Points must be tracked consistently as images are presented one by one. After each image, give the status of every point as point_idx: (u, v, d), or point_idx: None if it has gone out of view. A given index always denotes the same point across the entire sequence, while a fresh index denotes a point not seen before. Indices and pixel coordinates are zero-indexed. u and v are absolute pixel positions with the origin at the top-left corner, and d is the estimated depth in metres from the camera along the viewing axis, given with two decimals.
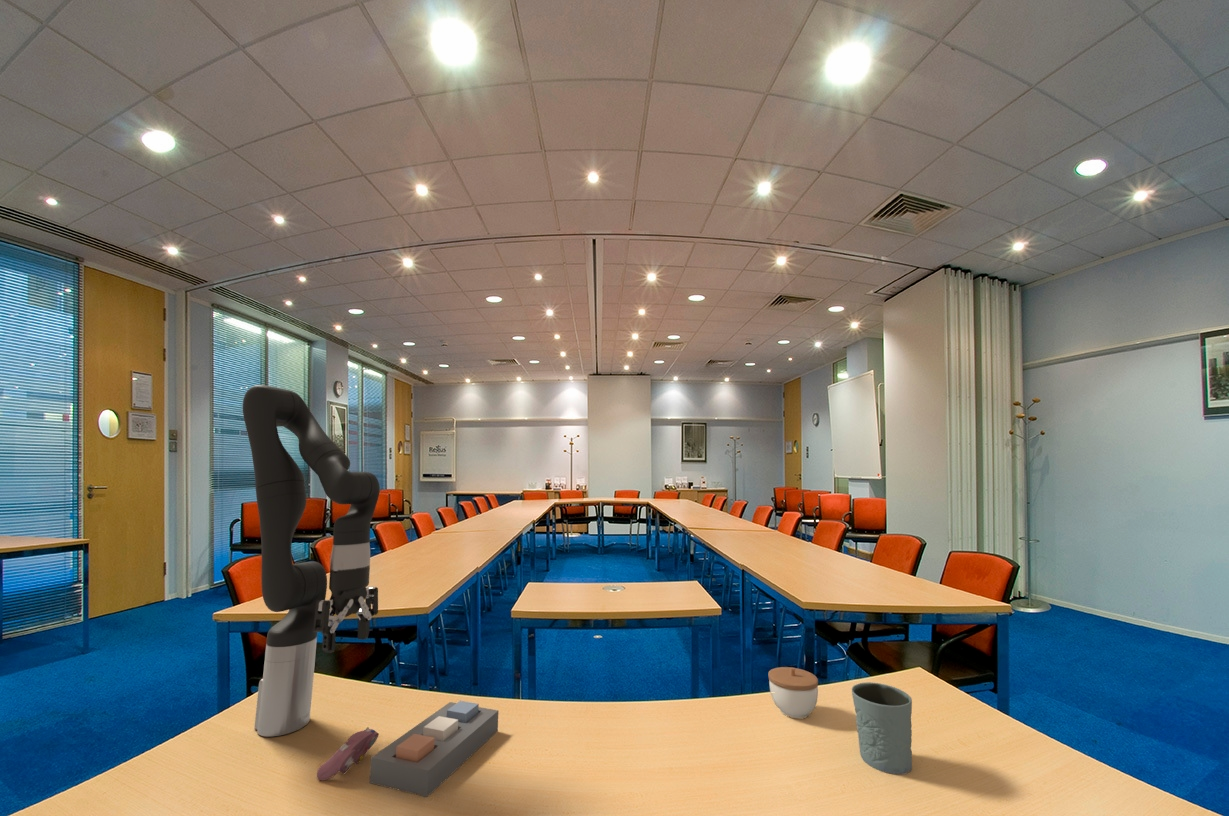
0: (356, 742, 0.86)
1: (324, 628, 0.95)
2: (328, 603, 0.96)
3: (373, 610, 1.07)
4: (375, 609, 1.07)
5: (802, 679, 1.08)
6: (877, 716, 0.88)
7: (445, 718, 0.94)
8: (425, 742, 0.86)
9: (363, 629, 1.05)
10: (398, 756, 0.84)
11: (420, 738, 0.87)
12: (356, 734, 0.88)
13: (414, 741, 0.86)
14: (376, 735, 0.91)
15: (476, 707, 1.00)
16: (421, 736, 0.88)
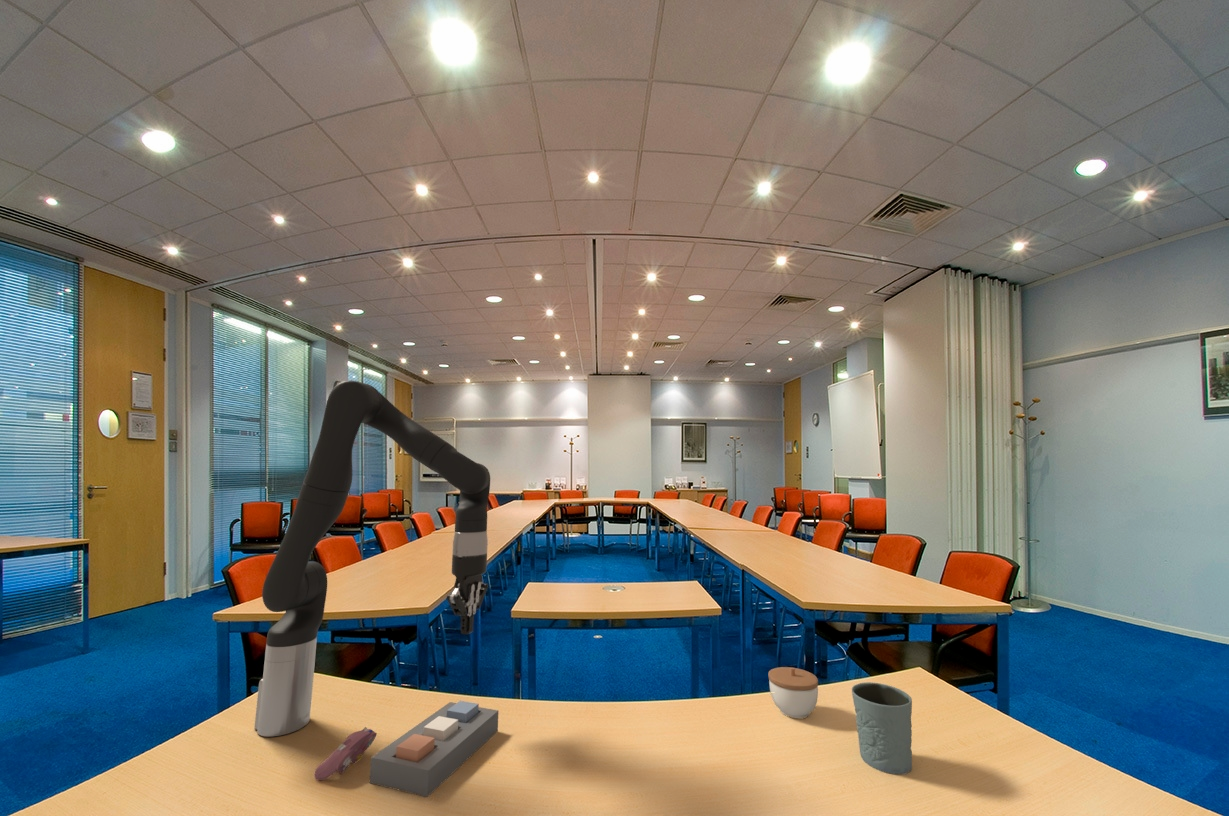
0: (354, 742, 0.86)
1: (465, 611, 1.03)
2: (458, 597, 1.01)
3: (476, 604, 1.08)
4: (479, 603, 1.09)
5: (802, 679, 1.08)
6: (877, 716, 0.88)
7: (445, 718, 0.94)
8: (425, 742, 0.86)
9: None
10: (398, 756, 0.84)
11: (420, 738, 0.87)
12: (354, 734, 0.88)
13: (414, 741, 0.86)
14: (374, 735, 0.91)
15: (476, 707, 1.00)
16: (421, 736, 0.88)
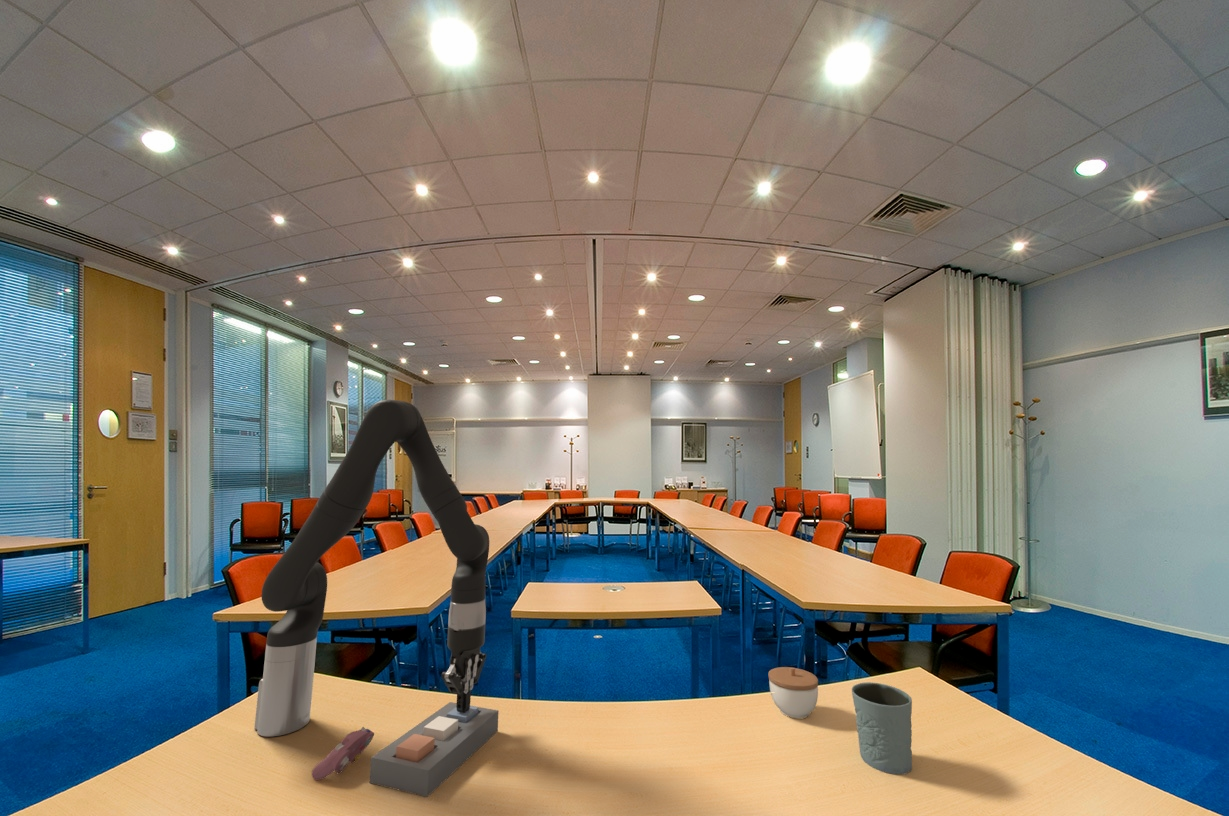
0: (352, 741, 0.87)
1: (461, 689, 0.97)
2: (453, 676, 0.95)
3: (474, 678, 1.01)
4: (477, 677, 1.02)
5: (802, 679, 1.08)
6: (877, 716, 0.88)
7: (445, 718, 0.94)
8: (425, 742, 0.86)
9: None
10: (398, 756, 0.84)
11: (420, 738, 0.87)
12: (351, 734, 0.88)
13: (414, 741, 0.86)
14: (372, 735, 0.91)
15: (476, 711, 1.00)
16: (421, 736, 0.88)
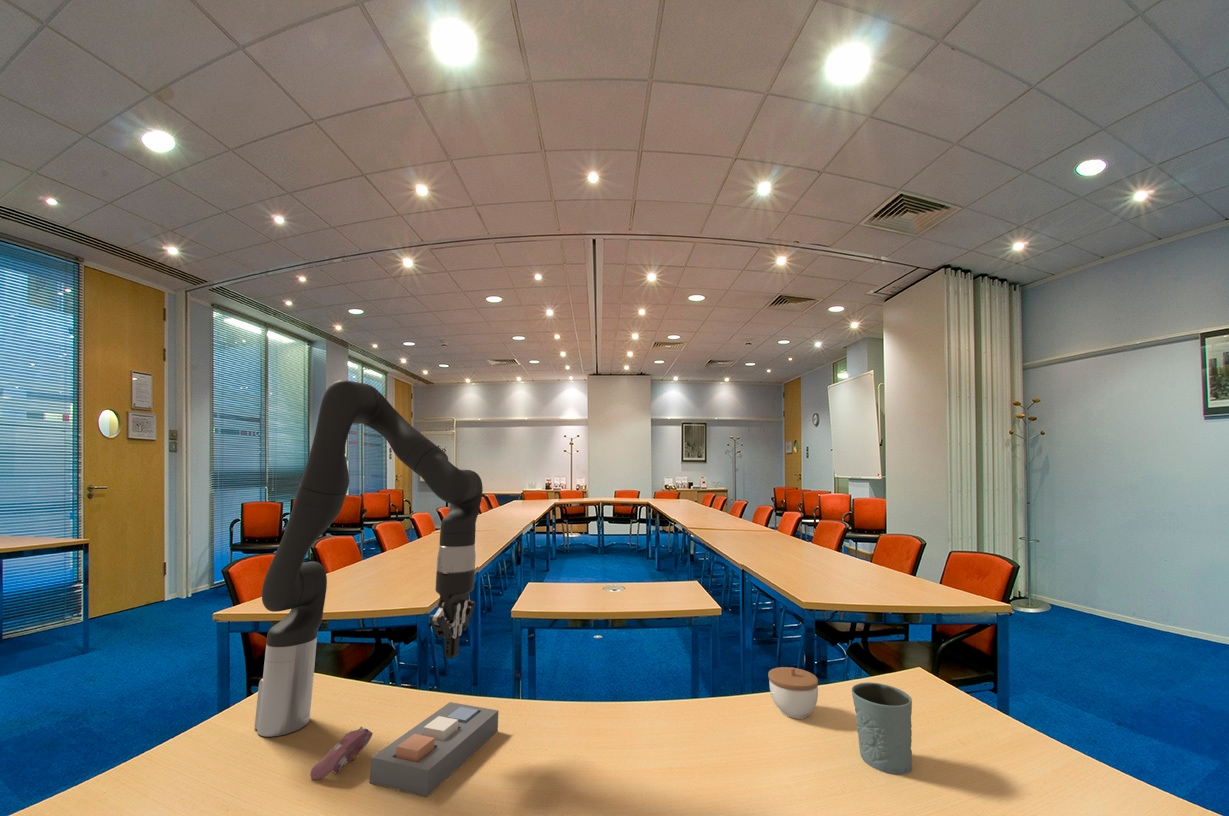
0: (350, 741, 0.87)
1: (449, 633, 0.94)
2: (442, 618, 0.92)
3: (463, 625, 0.99)
4: (466, 623, 1.00)
5: (802, 679, 1.08)
6: (877, 716, 0.88)
7: (445, 718, 0.94)
8: (425, 742, 0.86)
9: None
10: (398, 756, 0.84)
11: (420, 738, 0.87)
12: (350, 733, 0.88)
13: (414, 741, 0.86)
14: (370, 734, 0.91)
15: (476, 713, 1.00)
16: (421, 736, 0.88)
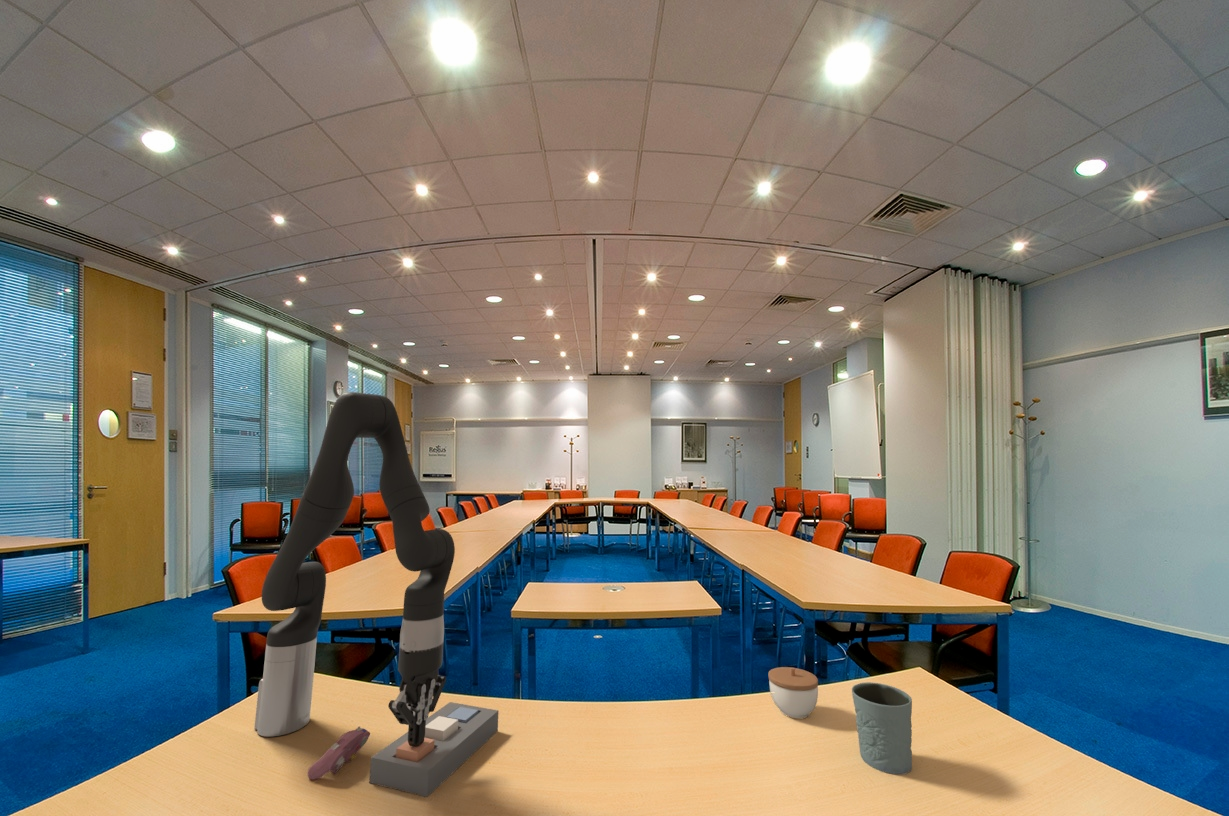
0: (348, 741, 0.87)
1: (412, 720, 0.84)
2: (402, 705, 0.82)
3: (430, 706, 0.88)
4: (434, 704, 0.89)
5: (802, 679, 1.08)
6: (877, 716, 0.88)
7: (445, 718, 0.94)
8: (425, 744, 0.86)
9: None
10: None
11: None
12: (347, 733, 0.88)
13: None
14: (367, 734, 0.91)
15: (476, 713, 1.00)
16: None
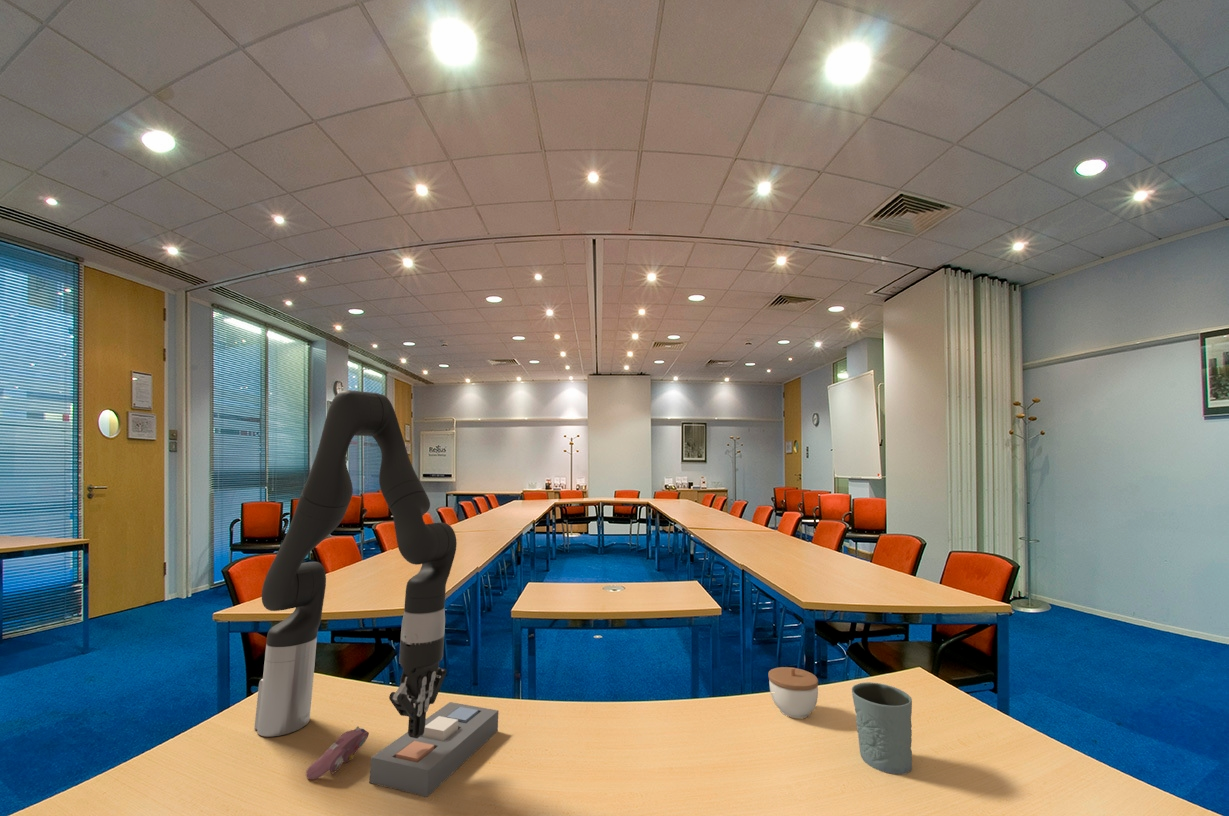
0: (346, 741, 0.87)
1: (412, 712, 0.84)
2: (403, 697, 0.82)
3: (430, 698, 0.89)
4: (434, 696, 0.89)
5: (802, 679, 1.08)
6: (877, 716, 0.88)
7: (445, 718, 0.94)
8: (425, 749, 0.86)
9: None
10: None
11: (419, 746, 0.87)
12: (346, 733, 0.88)
13: (414, 748, 0.86)
14: (366, 734, 0.91)
15: (476, 713, 1.00)
16: (421, 743, 0.88)
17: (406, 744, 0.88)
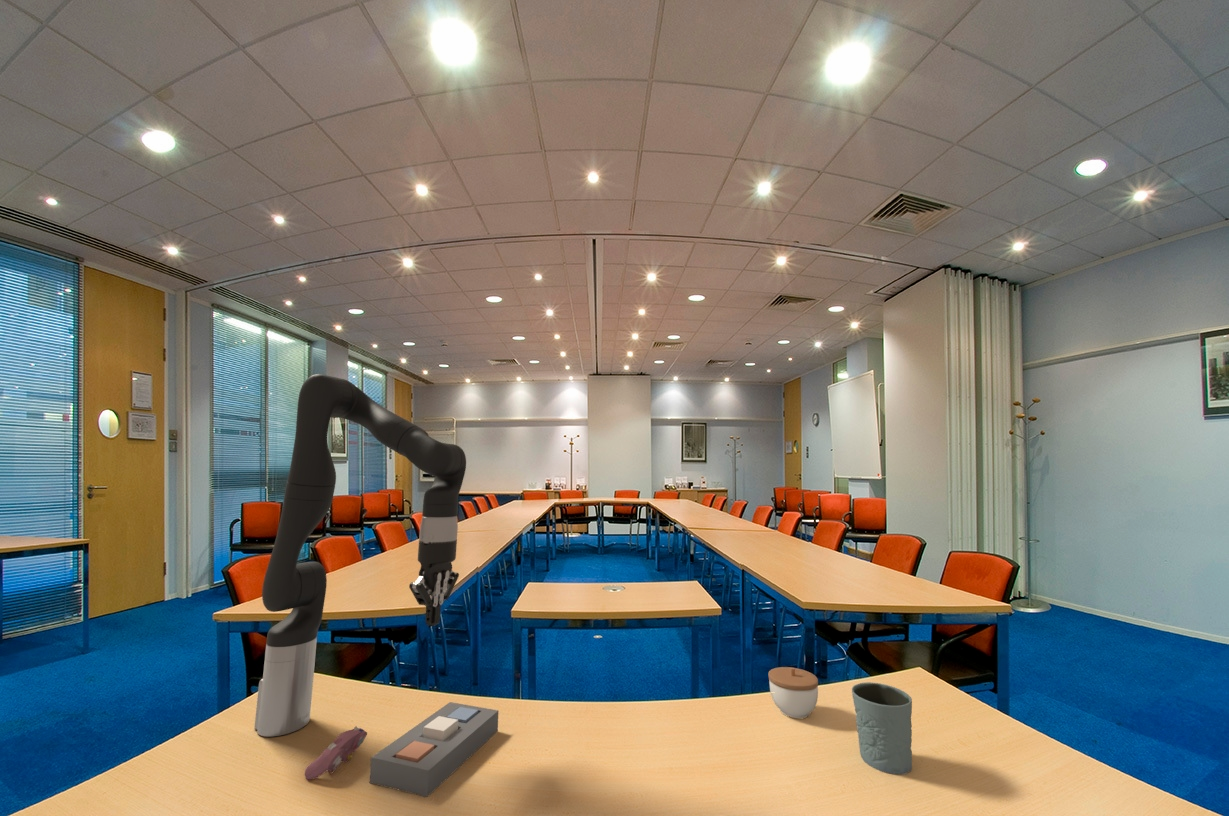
0: (345, 741, 0.87)
1: (429, 601, 0.96)
2: (421, 586, 0.94)
3: (444, 594, 1.01)
4: (448, 593, 1.02)
5: (802, 679, 1.08)
6: (877, 716, 0.88)
7: (445, 718, 0.94)
8: (425, 749, 0.86)
9: None
10: None
11: (419, 746, 0.87)
12: (344, 733, 0.88)
13: (414, 748, 0.86)
14: (364, 734, 0.91)
15: (476, 713, 1.00)
16: (421, 743, 0.88)
17: (406, 744, 0.88)
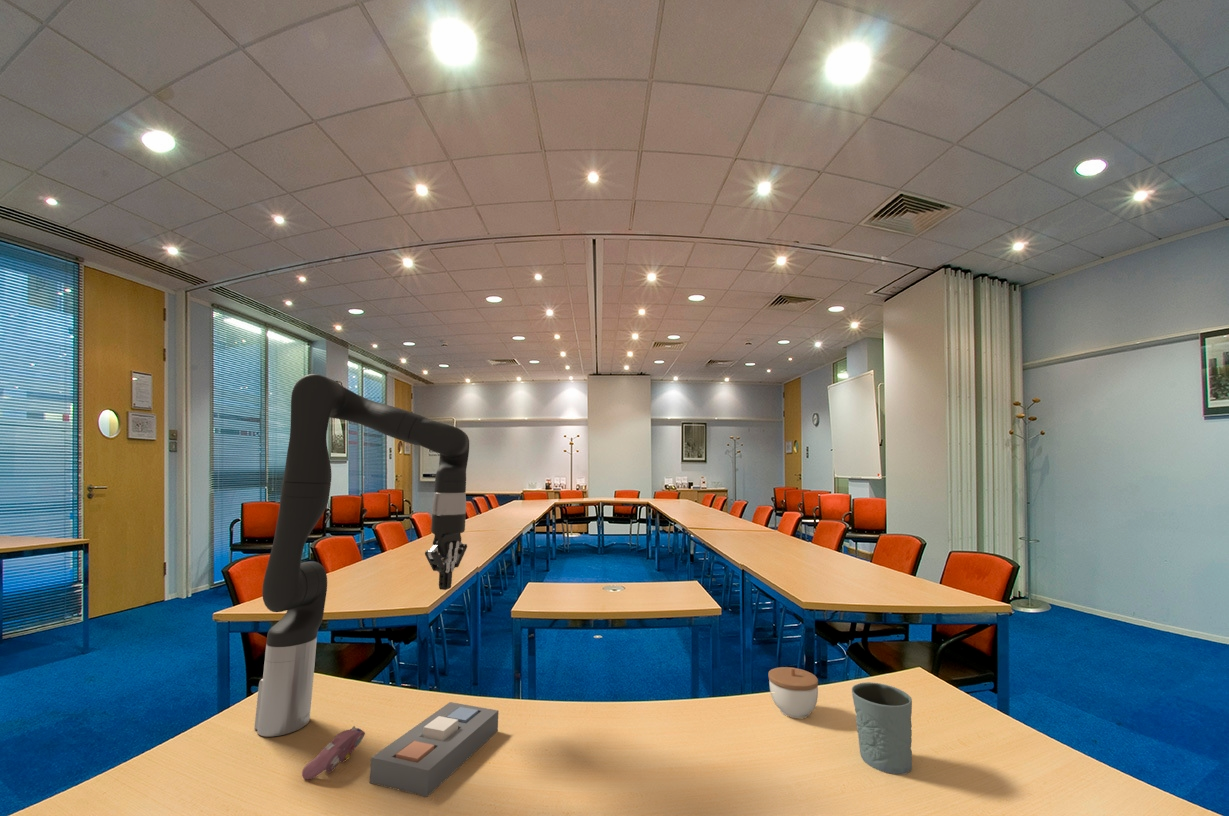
0: (342, 741, 0.87)
1: (442, 567, 1.08)
2: (436, 553, 1.06)
3: (455, 563, 1.13)
4: (458, 562, 1.14)
5: (802, 679, 1.08)
6: (877, 716, 0.88)
7: (445, 718, 0.94)
8: (425, 749, 0.86)
9: None
10: None
11: (419, 746, 0.87)
12: (342, 733, 0.88)
13: (414, 748, 0.86)
14: (362, 734, 0.92)
15: (476, 713, 1.00)
16: (421, 743, 0.88)
17: (406, 744, 0.88)
